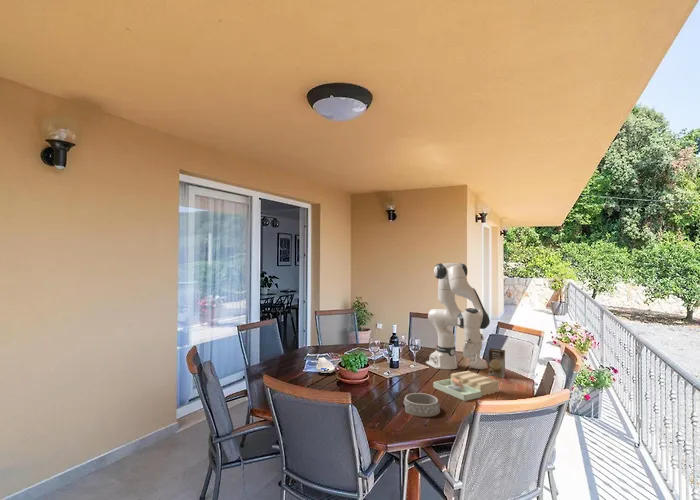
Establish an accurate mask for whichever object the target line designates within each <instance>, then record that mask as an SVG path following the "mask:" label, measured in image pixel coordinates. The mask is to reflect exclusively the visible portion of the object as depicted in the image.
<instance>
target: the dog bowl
mask: <svg viewBox="0 0 700 500" xmlns="http://www.w3.org/2000/svg"><path fill="white" fill-rule="evenodd" d="M402 407H404V411H405V412H404V413H406V414H408V415H411V416H415V417H423V418H428V417H434V416H437V415H439V414H440V413H441V408H440V407H441V406H440V403H439V399H438V398H437V397H436V396H434V395H432V394H428V393H423V392H413V393H412V392H411V393H408V394H406V395H405V397H404V400H403V403H402Z"/></svg>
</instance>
